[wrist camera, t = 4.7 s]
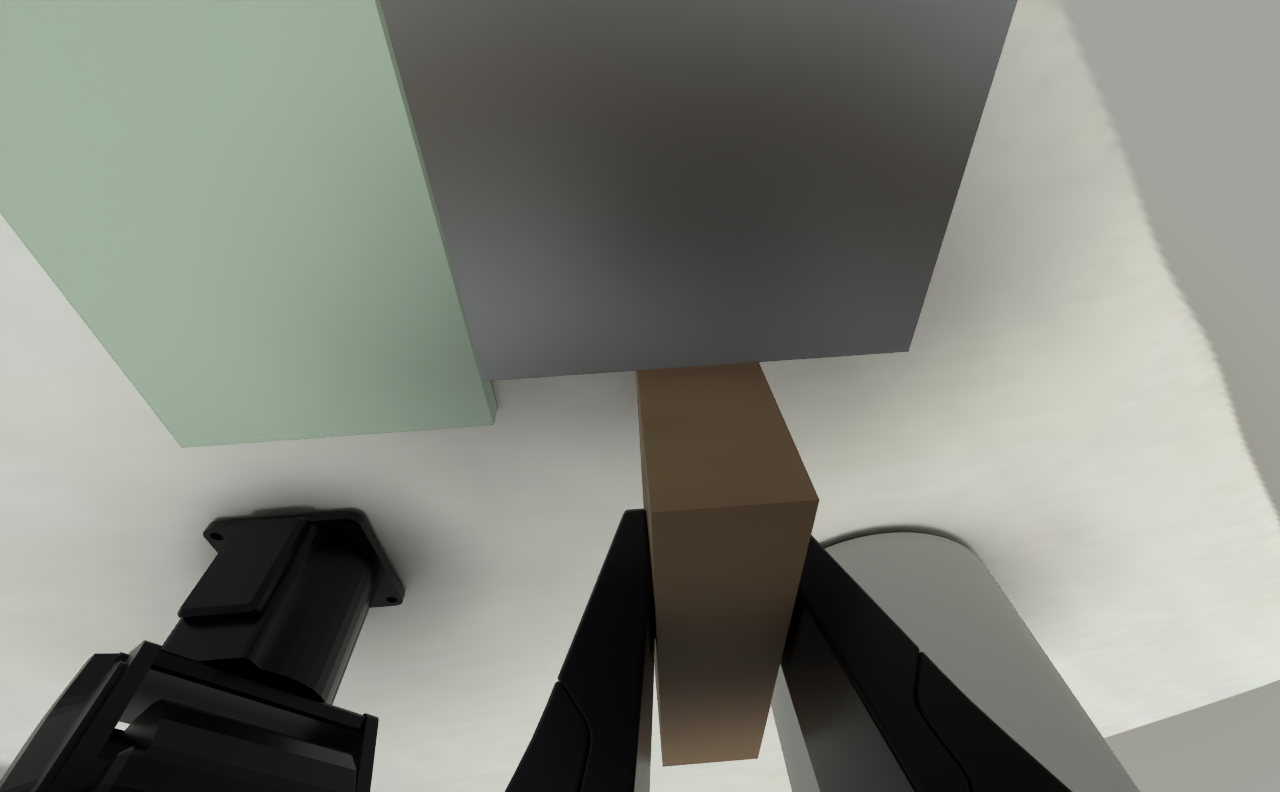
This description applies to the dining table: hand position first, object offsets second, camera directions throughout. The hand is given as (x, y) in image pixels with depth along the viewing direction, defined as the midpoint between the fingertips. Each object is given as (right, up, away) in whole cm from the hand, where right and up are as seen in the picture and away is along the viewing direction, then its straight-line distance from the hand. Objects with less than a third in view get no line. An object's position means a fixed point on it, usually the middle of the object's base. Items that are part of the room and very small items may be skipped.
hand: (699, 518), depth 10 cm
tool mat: (-12, +9, +4) cm, 16 cm away
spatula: (0, +3, 0) cm, 3 cm away
